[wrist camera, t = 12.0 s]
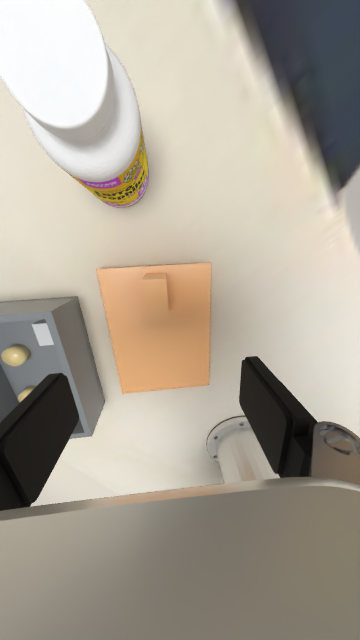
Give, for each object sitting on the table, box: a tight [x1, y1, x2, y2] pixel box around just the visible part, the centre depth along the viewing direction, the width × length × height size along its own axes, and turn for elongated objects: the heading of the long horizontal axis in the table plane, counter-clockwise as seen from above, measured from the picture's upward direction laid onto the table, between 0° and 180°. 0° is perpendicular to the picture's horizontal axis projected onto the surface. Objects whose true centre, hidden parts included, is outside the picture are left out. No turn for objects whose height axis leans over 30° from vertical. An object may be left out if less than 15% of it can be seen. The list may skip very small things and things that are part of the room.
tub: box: [0, 297, 105, 439], centre depth 24 cm, size 18×13×6 cm
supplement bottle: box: [0, 0, 148, 207], centre depth 14 cm, size 7×7×13 cm
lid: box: [96, 262, 211, 394], centre depth 24 cm, size 19×14×7 cm
